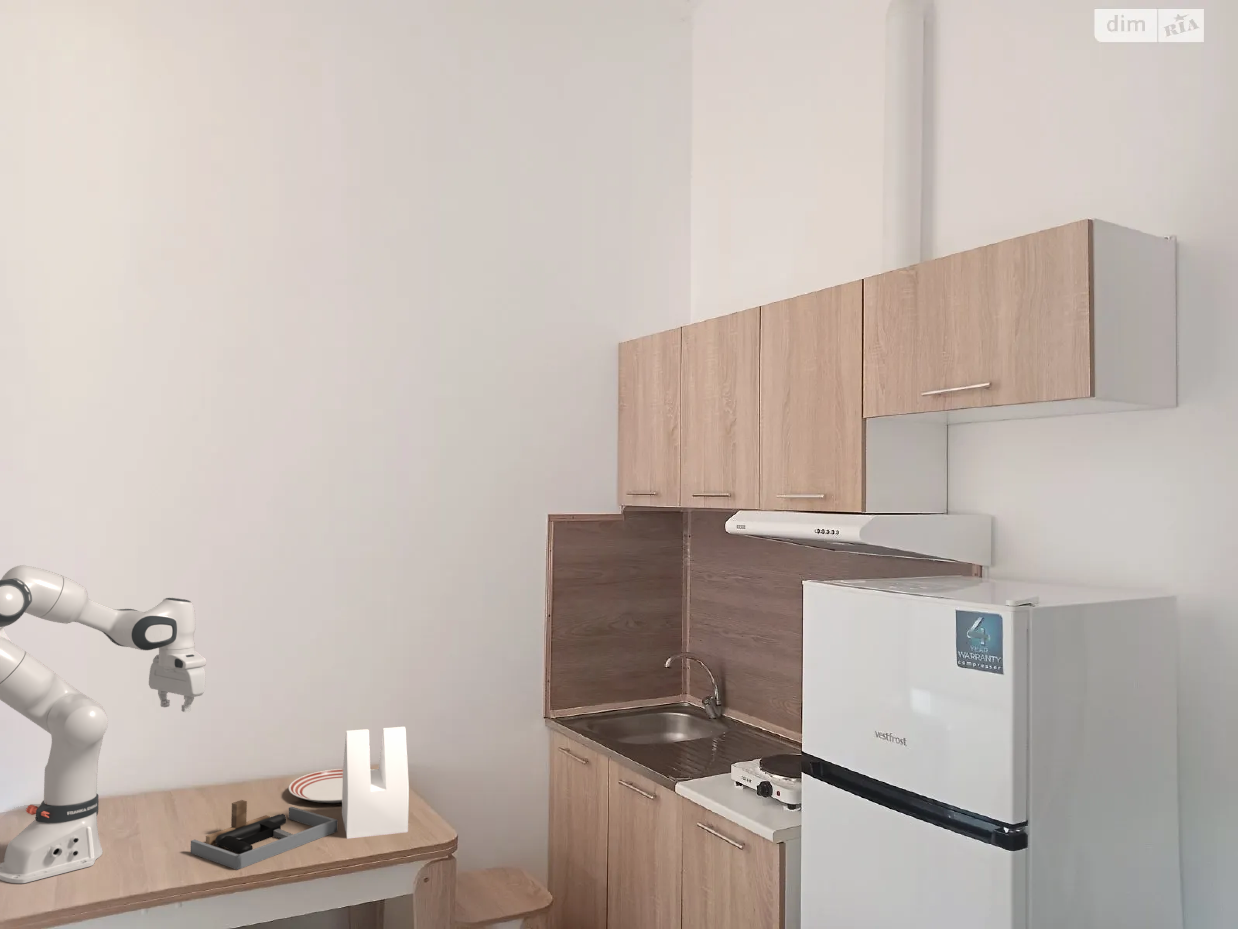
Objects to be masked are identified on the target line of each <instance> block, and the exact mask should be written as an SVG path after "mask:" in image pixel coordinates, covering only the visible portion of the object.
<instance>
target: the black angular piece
mask: <svg viewBox="0 0 1238 929" xmlns="http://www.w3.org/2000/svg"><path fill="white" fill-rule="evenodd" d="M286 823H287V816H286V815H285V814H284V813H282V814H280V813H279V814H276V815H273V816H270V817H269V818H267V819H264V820H261V821H258V822H255V823H252V824H249V825H246V826H243V827H240V828H237V829H234V830H231V831H229V832H226V833H223V834H220V835H218V836H217V837H216V839H215V843H216V844H215V845H216V847H218V848H221V847H223V848H224V849H227V850H228V851H230V852H232V853H235V854H238V855H239V854H242V853H245V852H247V851H250V850H253V849H254V846H253V845H254V844H257V843H259V842H262V841H265V840H267V839H271V838H275V839H277V840H280V839H282V838H285V837H288V836H291V835H293V833H291V832H288V831H286V830H284V829H281V828H282V826H283V825H284V824H286Z"/></svg>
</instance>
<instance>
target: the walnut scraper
mask: <svg viewBox="0 0 1238 929" xmlns="http://www.w3.org/2000/svg"><path fill="white" fill-rule="evenodd" d="M247 804H248V801H247V800H243V799H241V800H237V801H235V802H231V818H230V819H231V822H230V823H231V825H230V826H231V827H228V828H224V829H222V830H219V831H216V832H213V833H210V834H208V835H207V834H206V835H205V843H206V844H209V845H212V846H214V845H216V843H215V839H216V837H217V836H218V835H220V834H223V833H226V832H229V831H231V830H234V829H237V828H240V827H243V826H246V825H249V824H252V823H255V822H258V821H261V820H264V819H267V818H269V817H271V816H270V815H267V814H265V815H261V816H260V817H256V818H253V819H251V820H247V811H248V810H247V808H248V805H247Z"/></svg>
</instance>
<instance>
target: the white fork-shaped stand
mask: <svg viewBox="0 0 1238 929" xmlns="http://www.w3.org/2000/svg"><path fill="white" fill-rule="evenodd" d="M370 742H371V741H370V729H368V728H366V729H365V728H364V729H363V728H362V729H351V730H345V743H344V752H343V753H344V754H343V755H344V756H343V766H342V767H343V768H342V769H343V788H342V803H341V816H342V822H343V826H344V831H345V835H346V836H345V837H346V839H347V840H348V839H354V838H366V837H375V836H384V835H392V834H393V835H394V834H402V833H408V832H409V801H410V796H409V795H410V794H409V793H410V791H409V790H410V784H409V764H408V763H409V762H408V746H407V745H408V744H407V729H406V726H395V727H383V728H382V735H381V745H380V752H379V753H380V754H379V762H378V768H376V769H371V750H370V748H371V747H370Z"/></svg>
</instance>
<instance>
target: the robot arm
mask: <svg viewBox="0 0 1238 929" xmlns="http://www.w3.org/2000/svg"><path fill="white" fill-rule="evenodd" d="M195 612H196V610H195V606H194V603H193V601H191V600H188V599H182V598H176V597H166V598H163V600H162V601H161V602H159V603H158V604H157V605H155V606H154V607H152V608H150V609H148V610H146V611H140V610H136V609H134V608H133V609H132V608H120V609H115V608H111V607H109V606H107V605H104V604H102V603H99V602H97V601H95V600H92V599H90V598H89V593H88V591H87V588H86V587H84V586H83V585H81V584H80V583H78V582H77V581H75V580H73V579H71V578H69V577H66V576H64V575H61V574H59V573H55V572H53V571H50V570H47V569H44V568H39V567H35V566H28V565H25V564H23V565H17V566H16V565H15V566H13V567H12V568H10V569H9V570H7V571H6V573H4V574H3V576H2V577H1V579H0V701H1V702H2V703H5V705H7V706H9V707H10V708H11V709H13V710H14V711H16V712H17V713H19V714H21V716H24V717H25V718H26V719H28V720H30V721H31V722H33V723H34V724H35V725H37V726H38V727H40V728H41V729H43V731H46V732H47V733H49V734H50V736H51V747H50V751H49V755H48V760H47V763H46V764H45V767H44V782H43V800H42V801H41V803H40V805H39V806H37V805H35V804H29V805H27V807H26V809H25V813H27V814H29V815H31V816H34V815H35V817H34V818H35V819H33V821H31V823H30V824H28V825H27V826H26V827H24V829H23V830H22V831H21V832H20V833H18V834H17V835H16V836H15V837H14V838H13V839H12V840H10V841H9V843H8V844H7V846H6V848H5V853H4V858H3V862H0V881H3V882H7V883H11V884H27V883H31V882H33V881H38V880H42V879H46V878H49V877H50V878H51V877H55V876H58V875H61V874H62V875H63V874H65V873H69V872H73V871H76V870H81V869H84V868H88V867H92V866H93V865H94V864H95V862H96V860H97V859H99V858H100V857H101V856H102V855H103V853H104V851H103V848H102V844H101V840H100V836H99V829H98V827H99V826H98V814H99V794H98V792H97V790H98V768H99V767H98V766H99V765H98V764H99V758H100V753H101V750H102V749H101V748H102V745H103V741H104V740H103V739H104V735H105V733H106V731H107V729H108V724H109V720H108V715H107V713H106V711H105V708H104V707H103V706H102V704H100V703H99V702H97V700H94V699H92V698H91V697H89V696H87V695H86V694H84V693H83V692H81V691H80V690H78V689H77V688H75V687H74V686H73V685H71V684H70V683H69V682H68V681H66V680H65V679H64V678H62V677H61V676H60V675H58V674H57V673H56V672H54V671H53V670H52V669H51V668H50V667H48V666H46V665H45V664H44V663H42V662H41V661H40V660H38V659H37V658H36V657H34V656H33V655H31V653H28V652H27V651H26V650H25V649H23V648H21V647H20V646H19V645H17V644H15V643H14V642H12V640H11V639H10V638H9V636H8V635H7V633H6V631H5V628H4V627H7V626H10V625H12V624H14V623H16V622H17V621H18V620H19V619H21V617H22V616H23V615H24V614H25V613H26V614H28V615H31V616H33V617H36V618H39V619H42V620H44V621H50V622H53V623H58V624H60V623H61V624H65V625H67V624H71V623H73V622H74V623H77V624H78V623H79V624H81V625H84V626H87V627H89V628H92V629H94V630H97V631H99V632H102V633H103V634H104V635H105V636H106V637H107V638H108V639H109V640H110V642H112V643H113V644H115V646H119V647H124V648H131V649H135V650H140V651H152V650H156V649H158V654H156V655H155V656H154V657H153V659H152V663H151V664H150V668H149V674H148V685H149V688H150V689H151V690H157V695H158V697H159V701H160V707H161V708H168V707H170V706H171V705H170V703H171V700H170V699H169V698H168V694H169V693H170V694H175V695H181V696H183V700H184V703H183V704H181V712H183V713H189V712H191V710H192V709H191V708H192V704H193V701H194V699H195V698H196V697H200V696H203V694H204V692H205V690H206V670H205V668H204V667H205V666H206V665H207V659H206V658H205V657H204V656H203V655H202V654H200V653H199V652H198V651H197V650H196V648H195V647H196V644H195V640H194V637H195V632H196V613H195Z"/></svg>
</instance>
